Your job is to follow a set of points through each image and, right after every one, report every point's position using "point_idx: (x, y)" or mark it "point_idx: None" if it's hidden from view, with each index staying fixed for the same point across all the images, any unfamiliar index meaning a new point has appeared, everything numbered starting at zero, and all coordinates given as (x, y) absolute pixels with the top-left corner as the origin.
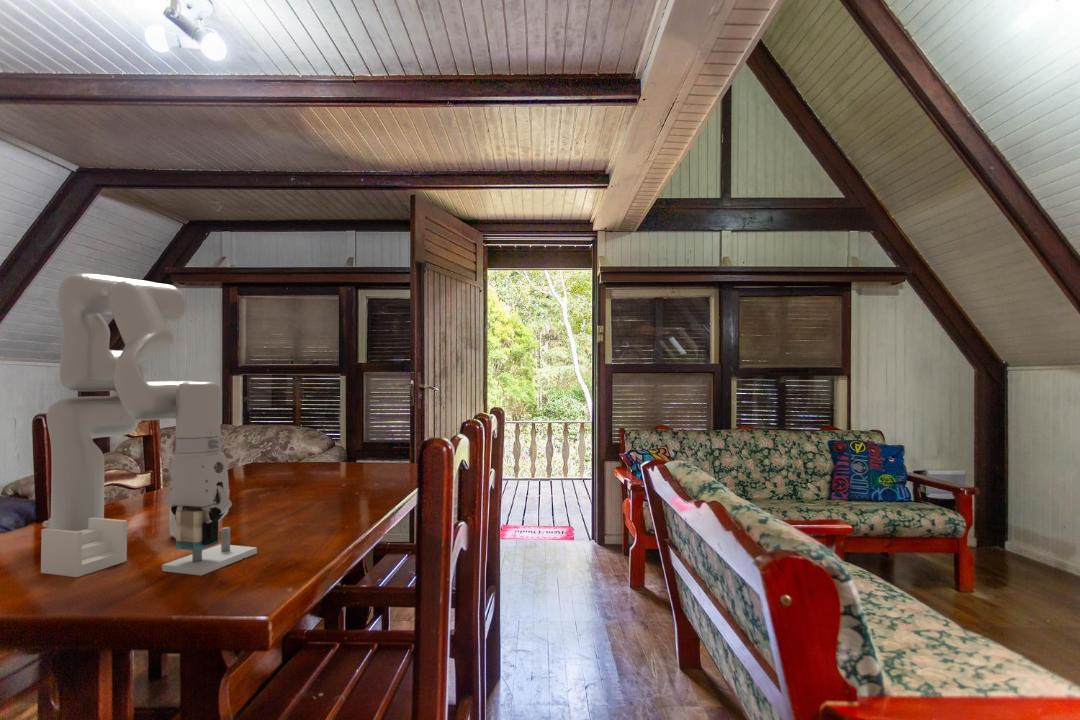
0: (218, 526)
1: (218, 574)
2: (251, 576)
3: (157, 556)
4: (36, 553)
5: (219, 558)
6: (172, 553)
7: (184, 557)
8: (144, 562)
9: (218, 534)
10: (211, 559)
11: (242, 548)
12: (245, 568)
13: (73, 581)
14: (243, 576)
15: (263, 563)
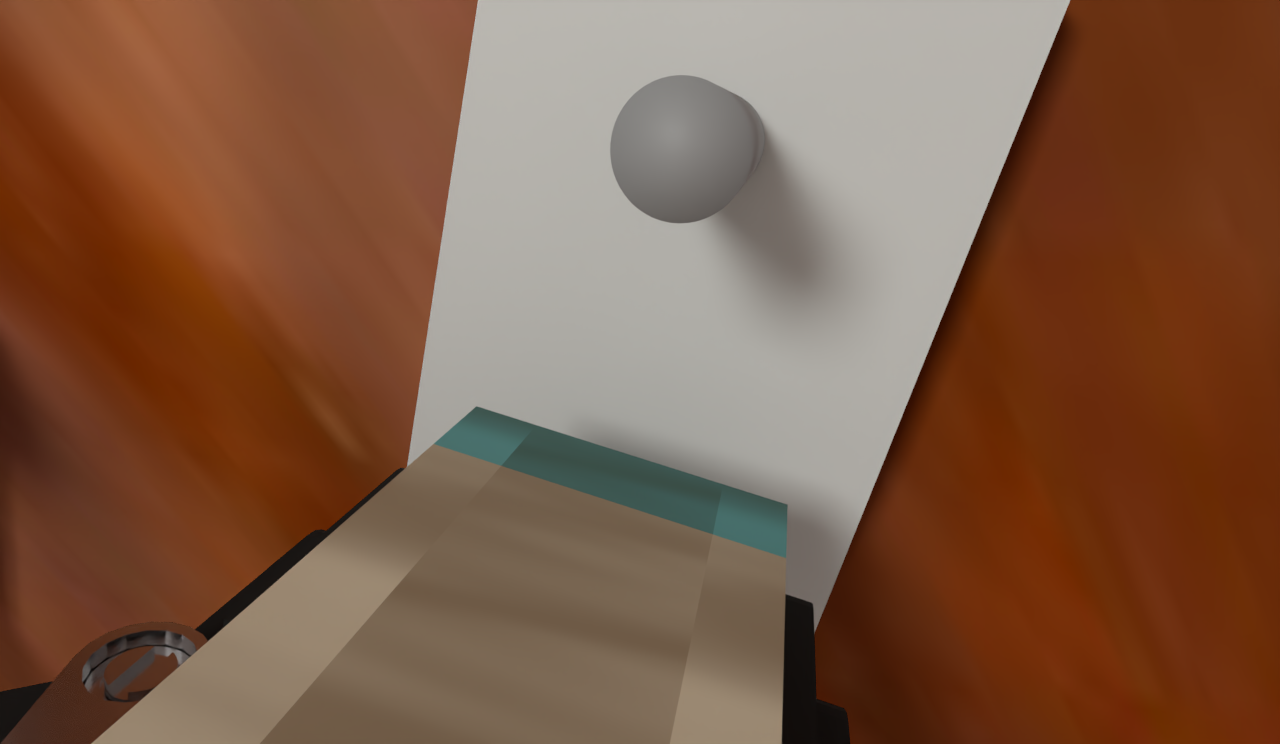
0: (779, 644)
1: (918, 650)
2: (1254, 727)
3: (76, 142)
4: None
5: (797, 430)
6: (125, 37)
7: (432, 382)
8: (115, 316)
9: (785, 573)
10: (731, 456)
11: (889, 39)
12: (1112, 520)
13: (40, 672)
14: (1174, 719)
15: (1266, 378)
